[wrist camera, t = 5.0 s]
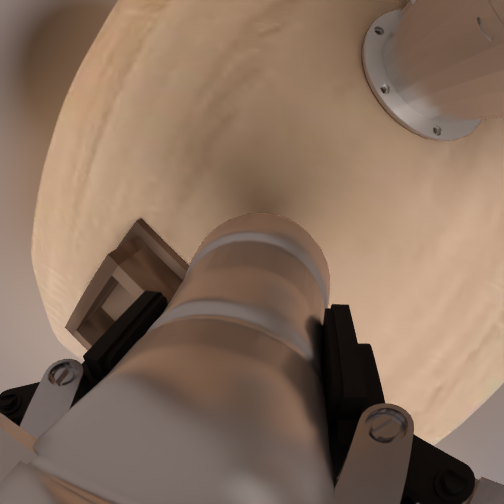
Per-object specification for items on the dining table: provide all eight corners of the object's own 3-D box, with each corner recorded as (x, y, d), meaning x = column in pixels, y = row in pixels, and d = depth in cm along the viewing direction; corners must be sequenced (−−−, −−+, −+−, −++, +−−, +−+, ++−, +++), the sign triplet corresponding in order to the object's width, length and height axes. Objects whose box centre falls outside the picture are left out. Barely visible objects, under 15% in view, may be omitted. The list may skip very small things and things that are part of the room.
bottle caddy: (86, 299, 30) (56, 324, 25) (141, 218, 26) (105, 236, 20) (169, 377, 32) (151, 410, 27) (246, 319, 28) (235, 358, 22)
